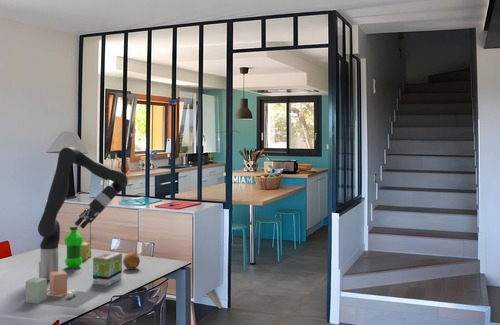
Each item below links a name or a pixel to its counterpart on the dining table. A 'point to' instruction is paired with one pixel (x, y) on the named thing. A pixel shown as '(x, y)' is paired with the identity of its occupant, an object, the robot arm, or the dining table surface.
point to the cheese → (85, 250)
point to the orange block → (58, 282)
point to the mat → (68, 299)
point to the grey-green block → (36, 290)
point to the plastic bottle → (73, 248)
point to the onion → (131, 260)
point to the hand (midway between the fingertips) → (78, 226)
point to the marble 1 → (69, 295)
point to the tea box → (107, 268)
